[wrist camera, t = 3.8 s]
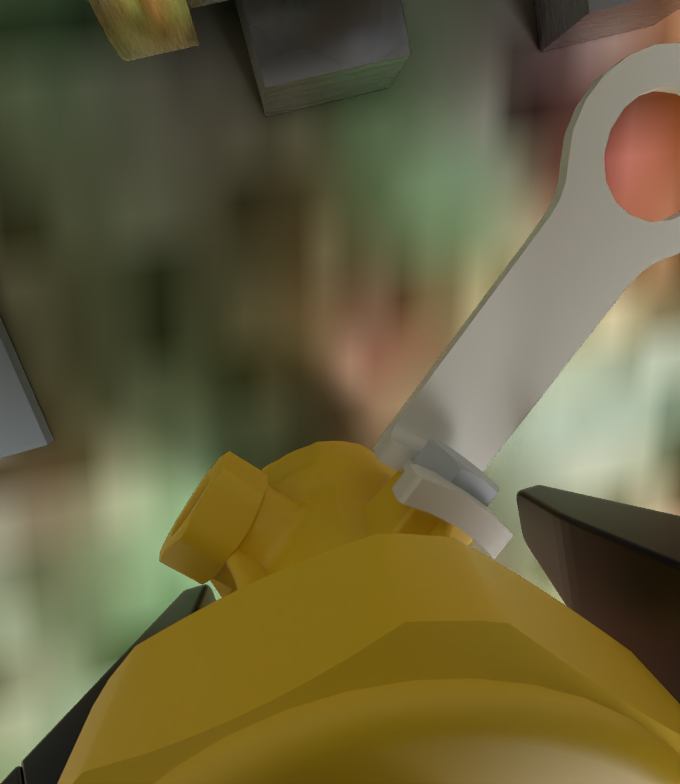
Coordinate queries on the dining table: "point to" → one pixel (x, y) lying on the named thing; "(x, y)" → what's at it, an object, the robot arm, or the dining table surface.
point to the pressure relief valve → (408, 564)
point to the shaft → (340, 38)
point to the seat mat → (18, 405)
